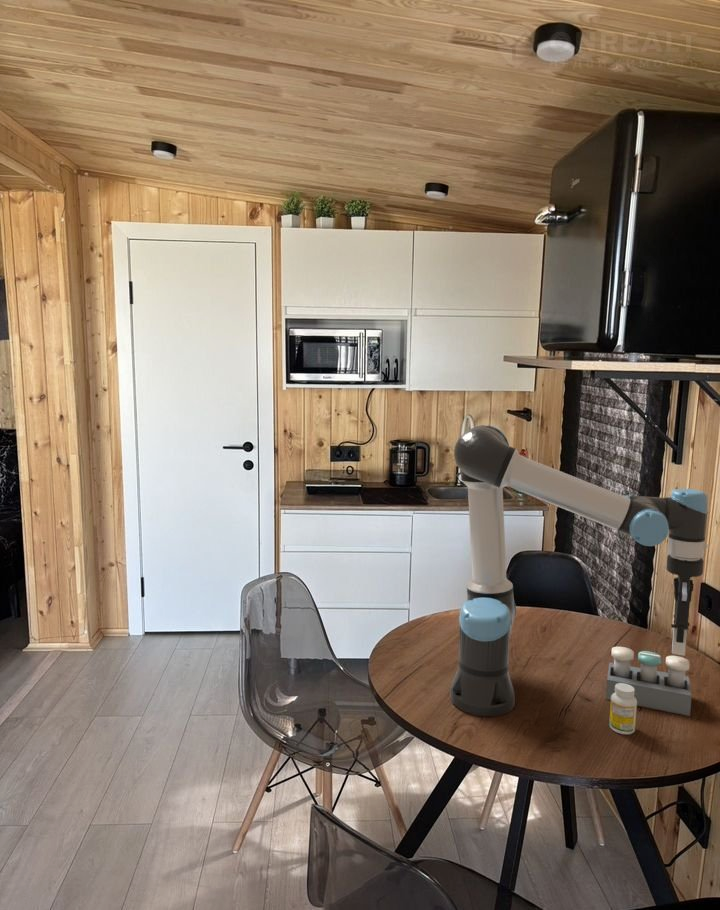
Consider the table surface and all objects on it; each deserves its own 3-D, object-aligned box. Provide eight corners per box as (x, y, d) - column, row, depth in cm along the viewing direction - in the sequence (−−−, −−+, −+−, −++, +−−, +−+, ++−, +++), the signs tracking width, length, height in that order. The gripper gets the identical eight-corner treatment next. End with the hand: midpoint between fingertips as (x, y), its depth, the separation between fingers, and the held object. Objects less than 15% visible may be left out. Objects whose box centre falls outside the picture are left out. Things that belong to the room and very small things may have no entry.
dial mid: (659, 687, 149) (661, 660, 148) (636, 683, 151) (638, 656, 150) (659, 678, 154) (661, 652, 153) (636, 674, 156) (638, 648, 155)
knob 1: (632, 682, 152) (633, 657, 151) (609, 678, 154) (611, 653, 153) (632, 673, 156) (634, 648, 155) (610, 669, 158) (612, 645, 157)
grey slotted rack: (689, 716, 145) (691, 695, 144) (605, 699, 152) (607, 679, 152) (687, 696, 154) (688, 676, 153) (608, 680, 161) (609, 662, 161)
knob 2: (688, 692, 147) (690, 666, 146) (664, 688, 149) (666, 662, 148) (686, 683, 151) (688, 658, 151) (663, 679, 153) (665, 654, 153)
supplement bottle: (627, 738, 136) (630, 696, 135) (604, 727, 140) (606, 686, 139) (639, 729, 139) (642, 688, 138) (616, 719, 144) (619, 679, 142)
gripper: (706, 566, 139) (698, 668, 142) (701, 551, 150) (694, 645, 153) (668, 561, 142) (661, 661, 145) (666, 547, 153) (660, 640, 157)
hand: (678, 653), depth 149 cm, fingers closed
